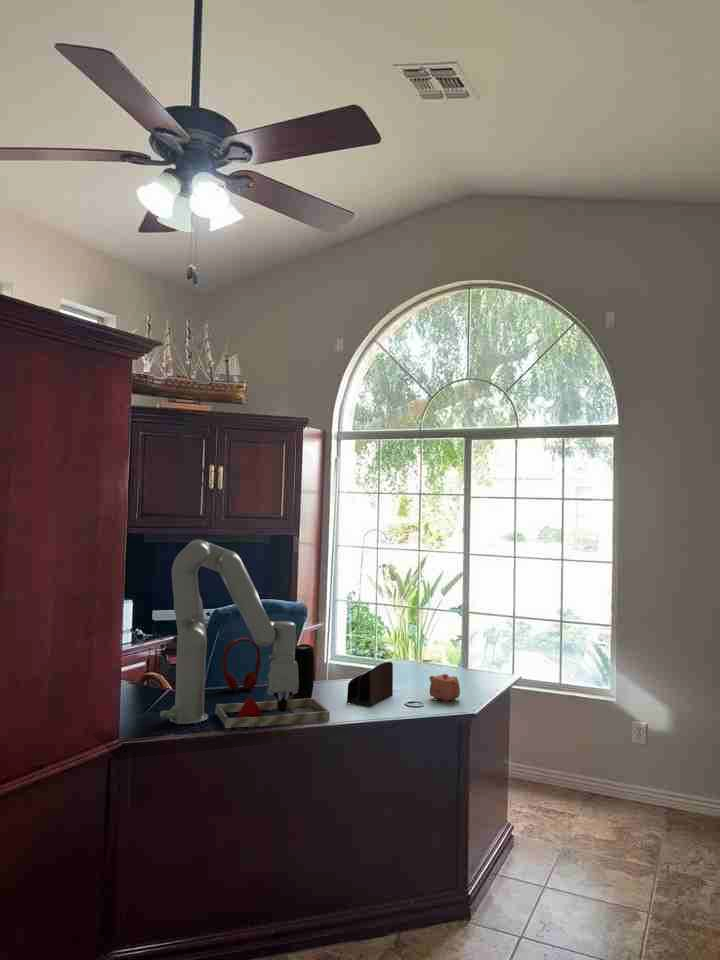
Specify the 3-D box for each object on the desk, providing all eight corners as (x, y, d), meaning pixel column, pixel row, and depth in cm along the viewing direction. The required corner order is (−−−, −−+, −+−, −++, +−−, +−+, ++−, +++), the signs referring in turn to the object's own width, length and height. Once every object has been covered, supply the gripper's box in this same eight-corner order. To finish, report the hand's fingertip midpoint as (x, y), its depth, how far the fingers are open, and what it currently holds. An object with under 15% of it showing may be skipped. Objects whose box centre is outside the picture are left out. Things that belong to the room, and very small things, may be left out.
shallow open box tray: (225, 729, 241) (226, 718, 241) (215, 713, 257) (215, 703, 257) (329, 720, 254) (329, 709, 254) (313, 706, 270) (313, 696, 270)
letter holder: (392, 695, 289) (394, 659, 289) (370, 708, 271) (371, 669, 271) (369, 692, 293) (370, 656, 293) (346, 703, 275) (347, 665, 276)
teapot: (430, 703, 279) (430, 677, 279) (428, 695, 291) (429, 670, 291) (461, 704, 278) (461, 679, 278) (458, 696, 290) (459, 671, 290)
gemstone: (240, 725, 241) (264, 707, 247) (224, 708, 246) (248, 691, 252) (241, 741, 247) (265, 723, 252) (226, 724, 252) (249, 707, 257)
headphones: (224, 694, 283) (226, 641, 283) (219, 689, 289) (221, 638, 289) (261, 690, 289) (263, 639, 290) (255, 686, 296) (257, 635, 296)
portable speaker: (287, 700, 277) (288, 647, 278) (294, 693, 286) (296, 642, 287) (309, 702, 275) (310, 649, 276) (316, 695, 284) (317, 644, 285)
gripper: (265, 661, 250) (263, 716, 250) (307, 659, 256) (305, 712, 255) (260, 656, 257) (258, 709, 257) (301, 654, 263) (299, 706, 262)
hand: (281, 711), depth 256 cm, fingers closed
